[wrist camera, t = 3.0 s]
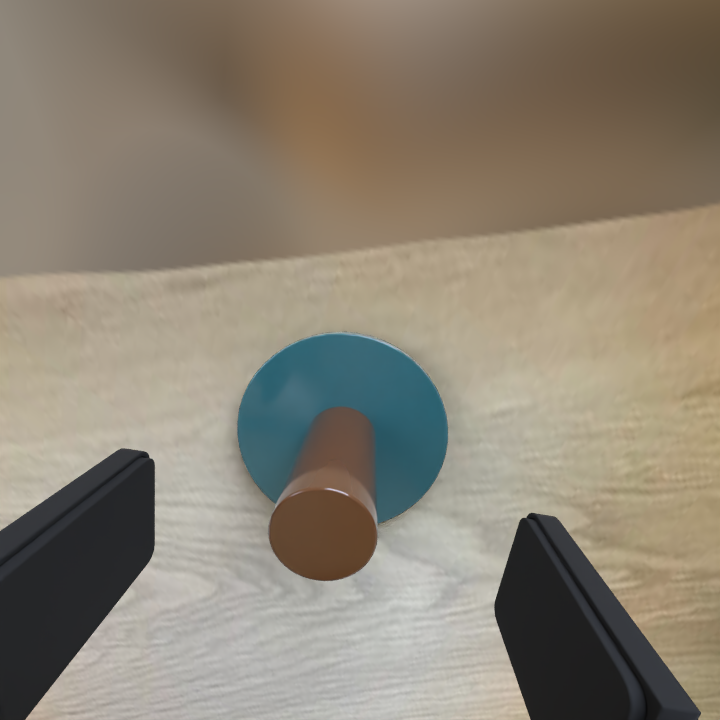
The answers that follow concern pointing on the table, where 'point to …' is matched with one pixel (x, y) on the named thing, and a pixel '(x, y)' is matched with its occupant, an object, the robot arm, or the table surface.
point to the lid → (339, 446)
